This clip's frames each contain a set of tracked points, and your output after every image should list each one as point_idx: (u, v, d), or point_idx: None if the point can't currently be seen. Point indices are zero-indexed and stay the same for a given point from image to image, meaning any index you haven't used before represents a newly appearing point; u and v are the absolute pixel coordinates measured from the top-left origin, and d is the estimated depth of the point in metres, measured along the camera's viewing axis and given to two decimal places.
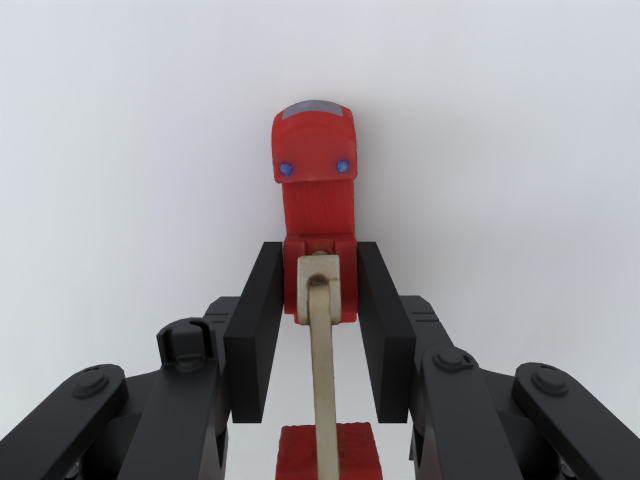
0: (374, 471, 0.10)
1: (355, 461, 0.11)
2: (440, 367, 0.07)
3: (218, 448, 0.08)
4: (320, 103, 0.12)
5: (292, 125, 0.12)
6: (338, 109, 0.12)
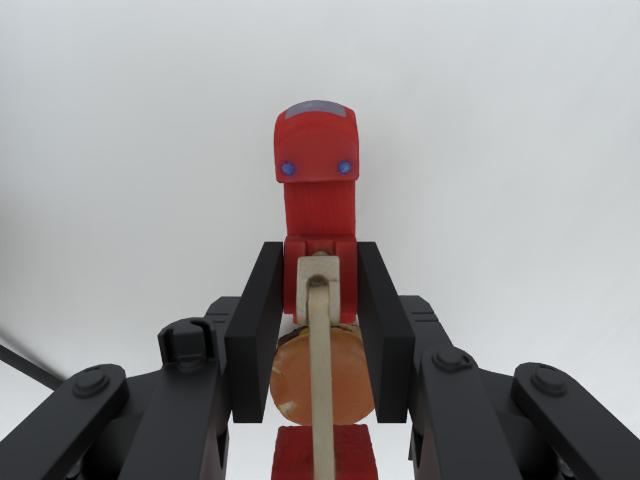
0: (370, 473, 0.10)
1: (351, 463, 0.11)
2: (439, 367, 0.07)
3: (219, 448, 0.08)
4: (323, 103, 0.12)
5: (295, 125, 0.12)
6: (341, 110, 0.12)
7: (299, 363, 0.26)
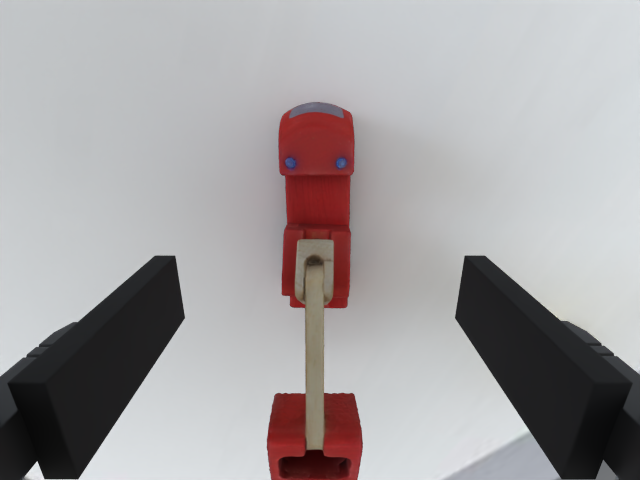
0: (355, 431, 0.12)
1: (339, 423, 0.12)
2: None
3: None
4: (324, 105, 0.14)
5: (298, 124, 0.13)
6: (340, 112, 0.14)
7: None
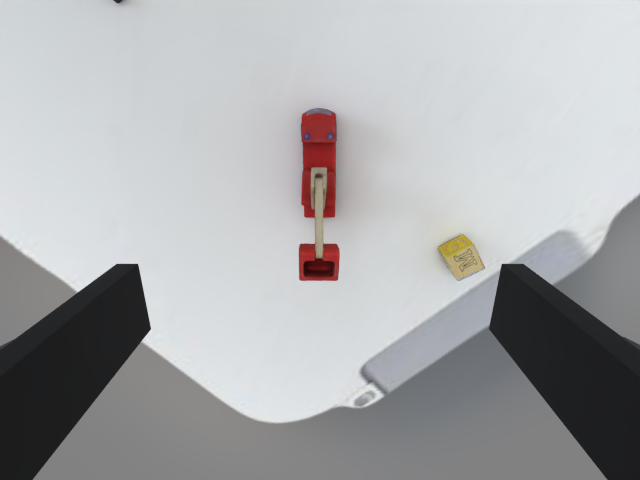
0: (336, 249, 0.28)
1: (329, 247, 0.28)
2: None
3: None
4: (322, 110, 0.30)
5: (310, 118, 0.29)
6: (329, 113, 0.30)
7: None
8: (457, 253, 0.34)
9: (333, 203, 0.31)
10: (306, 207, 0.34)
